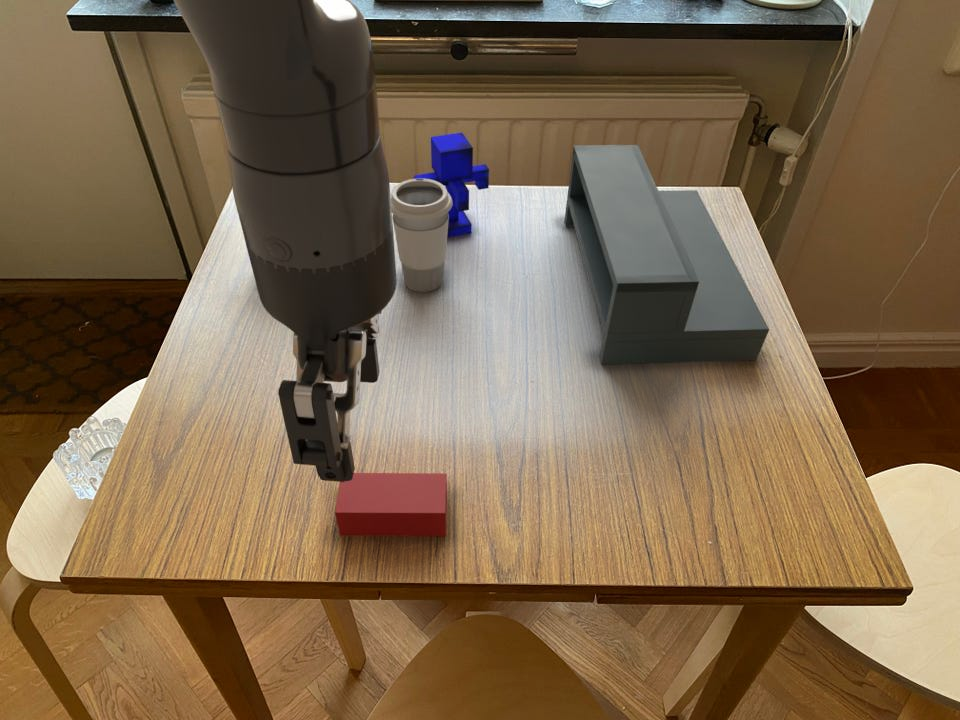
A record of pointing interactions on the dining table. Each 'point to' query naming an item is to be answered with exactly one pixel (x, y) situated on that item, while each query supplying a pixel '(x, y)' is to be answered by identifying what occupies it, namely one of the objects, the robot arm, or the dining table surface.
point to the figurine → (456, 176)
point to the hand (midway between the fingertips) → (351, 423)
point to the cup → (421, 231)
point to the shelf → (656, 266)
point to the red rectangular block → (392, 504)
